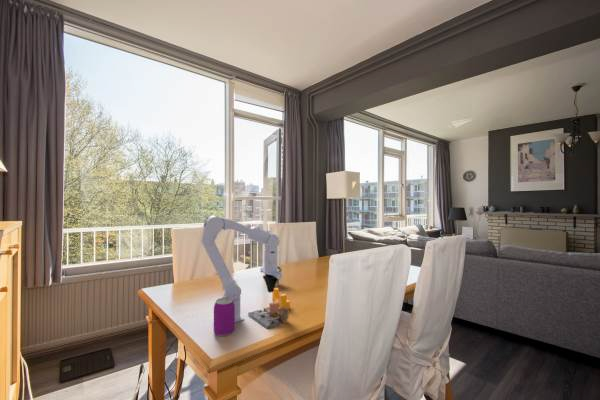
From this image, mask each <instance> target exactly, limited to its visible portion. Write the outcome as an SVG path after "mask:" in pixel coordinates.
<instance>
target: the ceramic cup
mask: <svg viewBox="0 0 600 400" xmlns="http://www.w3.org/2000/svg"><path fill="white" fill-rule="evenodd" d="M277 269H278V270H279V272H280V273H281V274H282V267H281V266H278V265H277ZM265 275H266V274H265V273H264V276H265ZM279 283H280V279H278V280H277V282H276V284H275V287H274V288H277V287H278V286H279Z"/></svg>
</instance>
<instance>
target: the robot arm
mask: <svg viewBox="0 0 600 400" xmlns="http://www.w3.org/2000/svg"><path fill="white" fill-rule="evenodd" d="M222 230H224V231H226V230H233V231H236V232H239V233H241V234H245V235H247V237H248V239H249V240H251V241H254V242H256V243H259V244H261V245H264V250H263V251H264V253H263V255H264V257H263V259H264V261H263V262H264V266H263V267H260V273H263V274H264V275H263V276H262V278H263V280H264V282H265V285H266V289H267V290H266V291H267V292H268V293H272V292H273V291H274V288H276V287H275V284H276V282H277V280H278V279H279V280H281V279H283V274H282V272H281V273H280V272H279V270H278V269H277V266H278V246H279V244H280V242H281V241H280V239H279V237H278V235H276V234H275V233H272V232H270V230H264V229H262V228H261V227H260V226H258V225H256V226H252V227H249V226H246V225H244V224H242V223H239V222H237V221H235V220H232V219H229V218H225V217H222V216H220V217H219V216H218V215H215V214H214V215H212V214H211V215H209V216H208V217H207V218H206V220H205V221H204V224H203V228H202V235H201V244H202V245H203V248H204V249H205V252H206V253H207V255H208V258H209V259H210V261H211V263H212V265H213V267H214V270H215V271H216V274H217V275H218V278H219V279H220V281H221V284H222V290H223V292H224V294H223V295H222V298H231V299H233V302H234V305H235V323H238V322H241V321H244V320H245V318H244V317H243V316H242V315H241V294H242V288H241V287H240V286H239V284H238V283H237V281H236V280H235V279H234V278H233V276H232V274H231V273H230V270H229V267H228V266H227V264H226V262H225V260H224V258H223V256H222V254H221V252H220V251H219V248H218V246H217V244H216V242H215V241H216V239H217V237H218V234H219V233H220V232H221V231H222ZM265 274H266V275H265Z"/></svg>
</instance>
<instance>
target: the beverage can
mask: <svg viewBox="0 0 600 400" xmlns="http://www.w3.org/2000/svg"><path fill="white" fill-rule="evenodd" d="M235 323H236V322H235V305H234V302H233V299H231V298H223V297H221V298H218V299H216V300H215V303H214V306H213V333H214V334H215V335H216V336H219V337H226V336H229V335H231V334H232V333H233V332H234V331H235Z"/></svg>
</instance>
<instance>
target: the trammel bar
mask: <svg viewBox="0 0 600 400" xmlns="http://www.w3.org/2000/svg"><path fill="white" fill-rule="evenodd" d="M289 309H290V308H287V307H284V308H279V312H278V313H274V314H271V313H267V314H269V315H270V316H272V317H273V318H272V319H269V320H267V321H268V322H269V321H272V320H276V319H277V320H278V321H280V322H281V323H280V324H286V323H288V319H289V316H290V315H289V314H290V312H289ZM269 310H270V306H269V307H268V306H267V307H264V308H263V311H264V312H268V311H269Z"/></svg>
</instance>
